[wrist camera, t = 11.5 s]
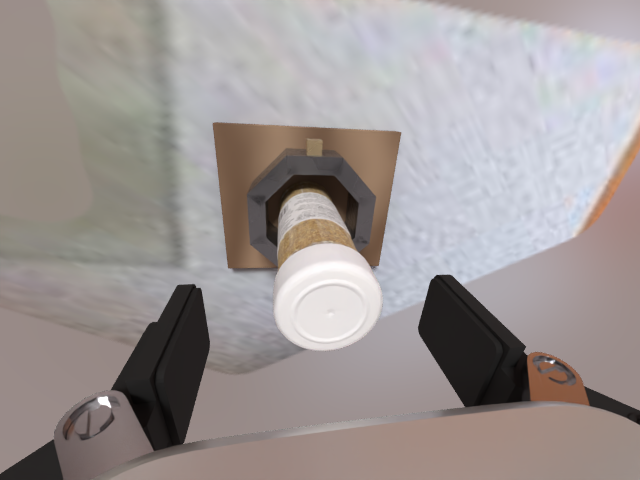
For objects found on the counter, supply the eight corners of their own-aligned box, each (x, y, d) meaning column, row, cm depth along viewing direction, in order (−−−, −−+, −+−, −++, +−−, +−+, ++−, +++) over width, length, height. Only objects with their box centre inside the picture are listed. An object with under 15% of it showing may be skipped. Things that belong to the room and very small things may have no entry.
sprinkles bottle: (314, 239, 24) (344, 368, 12) (267, 215, 23) (251, 335, 11) (342, 196, 23) (408, 294, 11) (295, 167, 21) (312, 244, 9)
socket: (256, 262, 25) (252, 285, 22) (249, 133, 20) (243, 138, 17) (353, 261, 26) (363, 282, 23) (368, 138, 21) (383, 144, 18)
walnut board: (230, 262, 25) (228, 268, 25) (215, 122, 20) (212, 123, 19) (375, 260, 27) (378, 265, 26) (396, 131, 22) (401, 132, 21)
